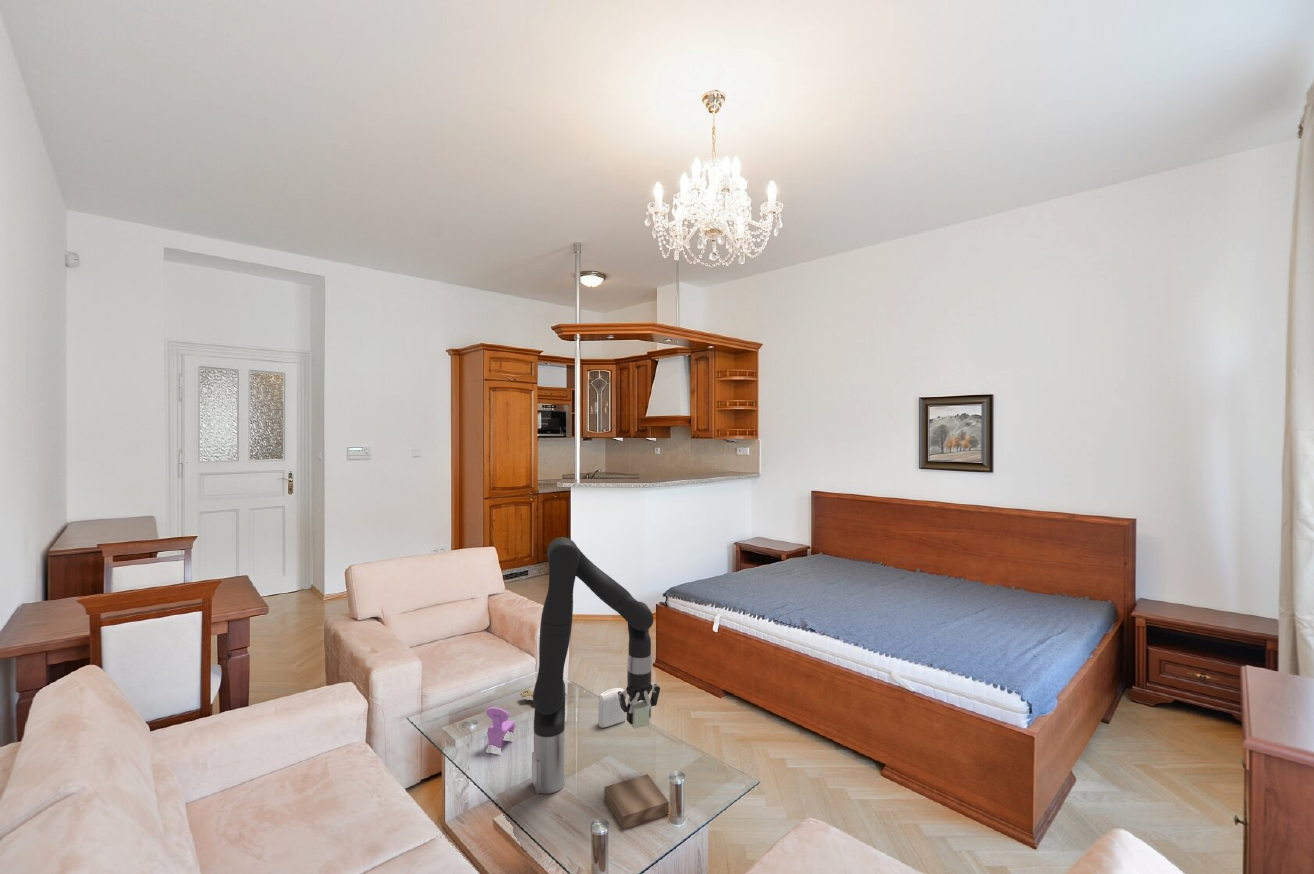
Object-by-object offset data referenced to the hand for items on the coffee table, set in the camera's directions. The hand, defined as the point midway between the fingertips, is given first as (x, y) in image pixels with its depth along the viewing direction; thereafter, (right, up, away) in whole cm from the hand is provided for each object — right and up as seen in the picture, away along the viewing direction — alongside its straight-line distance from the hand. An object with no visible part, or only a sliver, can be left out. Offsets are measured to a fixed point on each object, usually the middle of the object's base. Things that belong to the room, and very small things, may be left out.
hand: (638, 720), depth 184 cm
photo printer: (-11, -15, +30) cm, 35 cm away
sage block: (0, -1, 0) cm, 1 cm away
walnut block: (0, -18, -15) cm, 23 cm away
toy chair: (-47, -16, +14) cm, 52 cm away
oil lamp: (-39, -15, +44) cm, 61 cm away
